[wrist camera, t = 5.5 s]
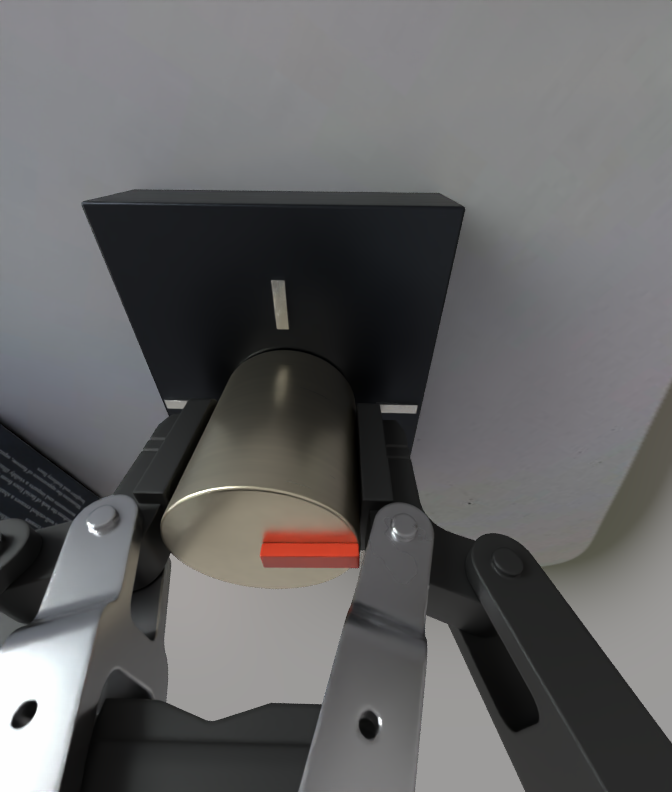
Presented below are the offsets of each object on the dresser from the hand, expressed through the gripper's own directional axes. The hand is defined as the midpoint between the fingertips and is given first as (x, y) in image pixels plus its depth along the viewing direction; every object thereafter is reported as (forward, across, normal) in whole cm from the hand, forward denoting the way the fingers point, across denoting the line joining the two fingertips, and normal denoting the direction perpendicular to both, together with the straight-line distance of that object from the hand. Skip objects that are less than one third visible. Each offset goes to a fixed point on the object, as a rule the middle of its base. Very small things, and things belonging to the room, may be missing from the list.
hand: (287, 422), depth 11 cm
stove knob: (+1, 0, 0) cm, 1 cm away
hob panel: (+3, 0, 0) cm, 3 cm away
